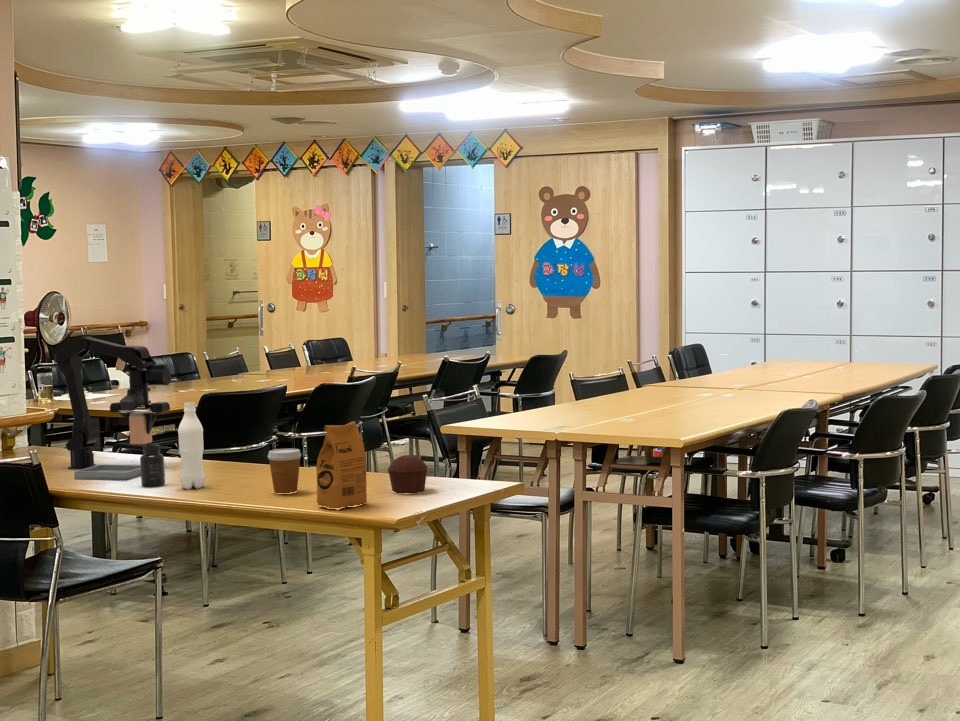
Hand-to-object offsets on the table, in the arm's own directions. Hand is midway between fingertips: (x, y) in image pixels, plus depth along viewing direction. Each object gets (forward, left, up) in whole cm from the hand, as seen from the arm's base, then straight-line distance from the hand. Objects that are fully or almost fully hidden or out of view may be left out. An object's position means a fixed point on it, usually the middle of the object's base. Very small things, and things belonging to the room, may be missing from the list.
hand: (140, 433), depth 381 cm
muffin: (+99, -27, -12) cm, 103 cm away
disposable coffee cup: (+65, -34, -12) cm, 74 cm away
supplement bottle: (+20, -28, -12) cm, 36 cm away
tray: (-2, -14, -12) cm, 18 cm away
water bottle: (+34, -30, -12) cm, 47 cm away
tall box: (0, 0, -3) cm, 3 cm away
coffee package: (+88, -50, -12) cm, 102 cm away
